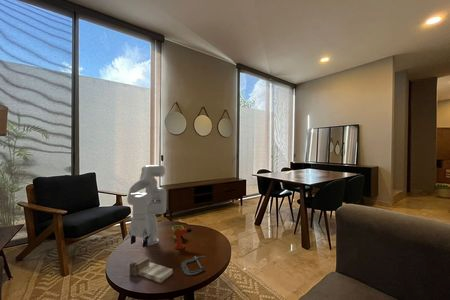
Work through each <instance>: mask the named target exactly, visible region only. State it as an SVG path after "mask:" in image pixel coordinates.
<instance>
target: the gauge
mask: <svg viewBox="0 0 450 300" xmlns="http://www.w3.org/2000/svg"><path fill="white" fill-rule="evenodd" d="M149 262H150V257H148V256H144V255H142V256H140V257H139V258H137V259H135V260H133V261H131V262H130V263H129V275H130V276H134V277H137V276H139V275H138V271H139V270H141V269H142V268H144V267H145V266H147V265H149Z"/></svg>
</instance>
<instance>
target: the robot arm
mask: <svg viewBox="0 0 450 300" xmlns="http://www.w3.org/2000/svg"><path fill="white" fill-rule="evenodd" d="M165 175H166V169H165V167H164V165H160V164H148V165H144V166H142V167H141V173H140V176H139V180H138V181H136V182H135V183H134V184H132V186H131V187H130V188H129V190H128V194H127V203H128V204H129V205H130V206H132V218H131V221H130V227H129V228H128V234H129V237H130V245H133V244H135V243H136V242H137V239H136V238H137V237H138V238H141V239H142V240H141V244H142V248H145V247H148V246H154V245H157V244H158V243H160V240H159V238H158V218H157V216H156V215H161V214H162V215H163V214H166V212H167V198H168V197H167V196H168V194H167V189H166V188H165V187H158V181H157V179H156V177H161V178H162V177H164V176H165ZM144 189H145V192H141V190H144ZM139 191H140V192H139ZM157 200H158V201H157Z"/></svg>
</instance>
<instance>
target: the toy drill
mask: <svg viewBox="0 0 450 300" xmlns="http://www.w3.org/2000/svg"><path fill="white" fill-rule="evenodd" d="M198 230H199V229H198V228H194V229H193V228H185V227H184V228H183V229H179V228H177V229H176V230H175V231H174V234H173V236H174V235H175V236H176V239H175V240H176V243H175V244H174V247H173V248H174V249H175V250H184V249H185V248H186V245H185V244H183V242H184V240H185V238H184V237H183V236H184V235H186V234H188V233H189V234H190V233H191V232H194V231H198Z"/></svg>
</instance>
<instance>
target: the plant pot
mask: <svg viewBox="0 0 450 300" xmlns="http://www.w3.org/2000/svg"><path fill="white" fill-rule="evenodd" d="M177 228H179V229H183V228H185V227H184V226H183V225H174V226H172V227H171V230H172V234H173V239H175V240H177V239H176V236H175V235H174V231H175V230H176V229H177Z"/></svg>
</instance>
